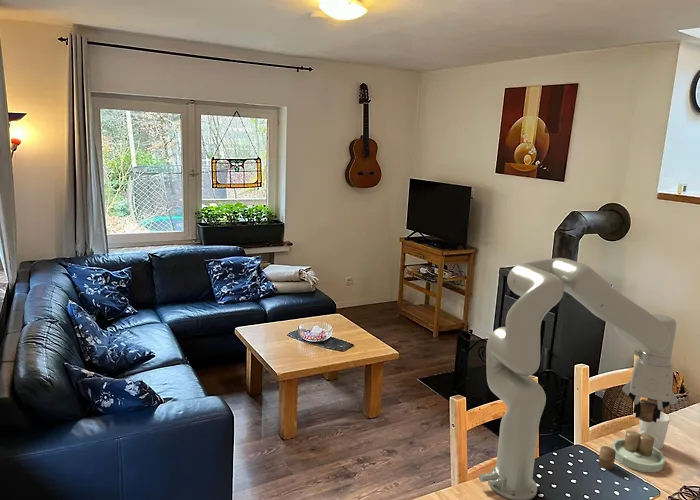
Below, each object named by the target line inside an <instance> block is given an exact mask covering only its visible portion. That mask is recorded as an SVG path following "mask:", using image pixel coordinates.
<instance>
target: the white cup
mask: <svg viewBox="0 0 700 500" xmlns="http://www.w3.org/2000/svg"><path fill="white" fill-rule="evenodd" d="M670 421H671V420H670V416H669V415H668V414H666V413H665V412H663V411H661V413H660V419H657V421H656V422H645V421H642V420H640V419H639V427H638V429H639V430H638V433H639V434H646V435H649V436H651V437H653V438H654V444H653V446H654V447H655V448H656V449H658V450H660V449H663V446H664V443H665V440H666V436H667V432H668V429H669V428H668V427H669V424H670Z"/></svg>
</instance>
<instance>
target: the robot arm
mask: <svg viewBox="0 0 700 500" xmlns="http://www.w3.org/2000/svg"><path fill="white" fill-rule="evenodd" d="M506 279H507V286H508V288H509V289H510V291H512V293H514V295H517V296H519V297H518V299H517V300H516V301H515V302H514V303H513V304H512V305H511V307H510V308H509V310H508V311H507V314H506V317H505V326H501V327H500V326H499V327H498V328H496V329H494V330H493V331H492V332H491V334H490V335H489V337H488V339H487V341H486V344H485V345H486V348H485V358H486V359H485V360H486V361H485V362H486V364H485V365H486V381H487V382H486V383H487V386H488V388H489V389H490V391H491V392H492V393H493V394H494V395H495V396H496V397H498V399H499V400H501V401H502V403H504V404H505V405H506V407H507V408H506V409H507V410H506V411H505V413H504V415H503V416H502V417H501V421H500V426H499V435H498V436H499V437H498V443H497V444H498V446H497V453H496V463H495V466H493V467H492V468H491V469H492V470H491V471H489V472H488V473H479V475H478V480H479V482H480V483H484V482H487V484H488V486H489V487H490V488H491V489H492V491H494V492H495V493H496V494H498V495H500V496H501V497H503V498H505V499H509V500H532V499H533V498H535V496H537V493H538V485H537V483H536V481H535V480H534V479H533V477H534V475H533V474H534V469H535V468H534V467H535V459H536V452H537V443H538V442H537V441H538V432H539V427H540V422H541V417H542V415H543V412H544V409H545V406H546V402H547V401H546V400H547V397H546V393H545V392H546V391H544V389H543V387H542V386H541V385H540V384H539V382H537V381H536V379H535V380H534V378H532V377H531V376H533V375H534V374H535V373H536V372H537V371H538V370H539V367H540V363H541V330H542V327H541V326H542V321H543V320H544V318H545V316H546V315H547V313H549V311H551V309H553V307H555V306H557V304H558V303H559V302H561V299H562V298H563V296H564V293H567V294H568V295H570V296H571V297H573V299H575V300H576V301H577V302H579V303H580V304H581V305H583V306H584V307H585V309H587V310H588V311H589V312H591V313H592V314H593V315H594V316H596V317H597V318H599V319H601V320H602V321H604V322H606V323H608V324H610V325H611V326H613V328H614V331H615V333H616V335H617V336H618V337H620V338H621V339H622V340H625V341H627V342H629V343H632V344H634V345H636V346H638V347H640V349H639V350H634V354H633V355H634V356H637V357H638V358H636V360H635V363H634V366H633V370H632V374H631V378H630V380H629V381H628V382H626V384H625V385H623V386H622V388H621V389H622V392H623V393H624V394H626V396H627V395H628V397H629V398H630V399H631V401H632V402H633V409H632V410H633V411H632V414H635V417H634V418H636V419H637V418H638V416H639V409H640V400H641V398H644V399H647V400H654V401H656V402H657V403H656V408H655V414H654V420H653V422H656V421H657V419H660V413H661V412H662V410H663V409H664V408H667V407H669V406H671V405H676V404H677V403H678V402H679V400H678V397H677V396H676V394H675V392H674V391H673V385H674V367H673V365H672V364H671V361H672V353H673V348H674V342H675V337H676V331H677V322H676V320H675V318H673V317H671V316H669V315H665V314H661V313H650V312H649V311H648V310H646V309H644V308H643V307H642V306H640V305H638V304H637V303H635V302H634V301H632V300H631V299H630V298H628V296H627V297H626V296H625V295H624V294H622V293H621V292H619V291H618V289H616V288H614V287H613V286H612V285H611V284H610V283H609V282H608V281H607V280H605V279H604V278H603V277H602V276H601V275H600V274H599V273H598V272H596V271H595V270H594V269H593V268H592V267H590V266H589V265H586V264H585V263H582V262H578V261H575V260H572V259H569V258H566V257H565V258H564V257H555V258H554V257H553V258H547V259H541V260H534V261H530V262H529V261H528V262H523V263H520V264H518V265H515V266H514V267H513V268H511V269H510V270H509V273H508V275H507V278H506ZM638 419H639V418H638Z"/></svg>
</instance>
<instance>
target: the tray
mask: <svg viewBox="0 0 700 500" xmlns="http://www.w3.org/2000/svg"><path fill="white" fill-rule="evenodd" d="M653 444H654V438H653V437H651V436H649V435H646V434H639V432H637V431H634V430H626V431H625V436H624V438H617V439H614V441H612V442H611V444H610V447H611V448H613V449H614V450H615V451H616V454H615V461H617V462H618V463H620V464H621V465H622V466H625V467H626V468H628V469H631V470H633V471H636V472H642V473H647V474H648V473H659V472H661V471H662V470H663V469H664V466H665V464H666V457H665V455H664V453H663V452H662V451H661V450H660V449H656V448H655V447H654V446H653Z"/></svg>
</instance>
